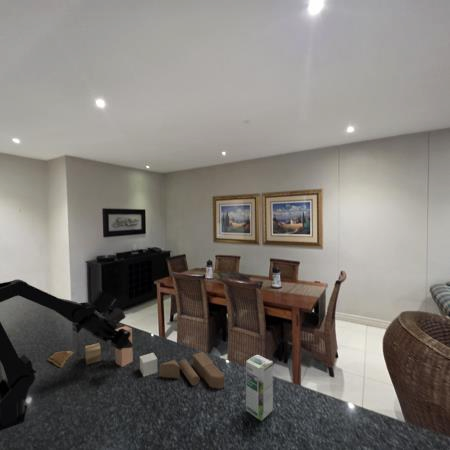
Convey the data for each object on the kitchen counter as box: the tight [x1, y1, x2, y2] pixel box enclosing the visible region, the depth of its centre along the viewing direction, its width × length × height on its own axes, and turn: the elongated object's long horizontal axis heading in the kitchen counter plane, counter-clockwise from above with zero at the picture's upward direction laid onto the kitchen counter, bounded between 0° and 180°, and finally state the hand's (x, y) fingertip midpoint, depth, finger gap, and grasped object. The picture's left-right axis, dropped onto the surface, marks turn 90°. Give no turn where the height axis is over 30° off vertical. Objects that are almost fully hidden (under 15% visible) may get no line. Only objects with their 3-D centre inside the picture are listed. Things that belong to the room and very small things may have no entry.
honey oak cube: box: [84, 342, 102, 365], centre depth 99 cm, size 5×5×5 cm
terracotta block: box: [114, 325, 133, 368], centre depth 97 cm, size 4×4×13 cm
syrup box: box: [245, 354, 274, 422], centre depth 71 cm, size 6×6×14 cm
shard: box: [47, 350, 73, 368], centre depth 98 cm, size 11×8×2 cm
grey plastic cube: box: [139, 352, 159, 377], centre depth 91 cm, size 5×5×5 cm
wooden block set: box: [159, 351, 226, 390], centre depth 85 cm, size 17×6×18 cm
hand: (125, 342), depth 97 cm, fingers open, 9 cm apart
